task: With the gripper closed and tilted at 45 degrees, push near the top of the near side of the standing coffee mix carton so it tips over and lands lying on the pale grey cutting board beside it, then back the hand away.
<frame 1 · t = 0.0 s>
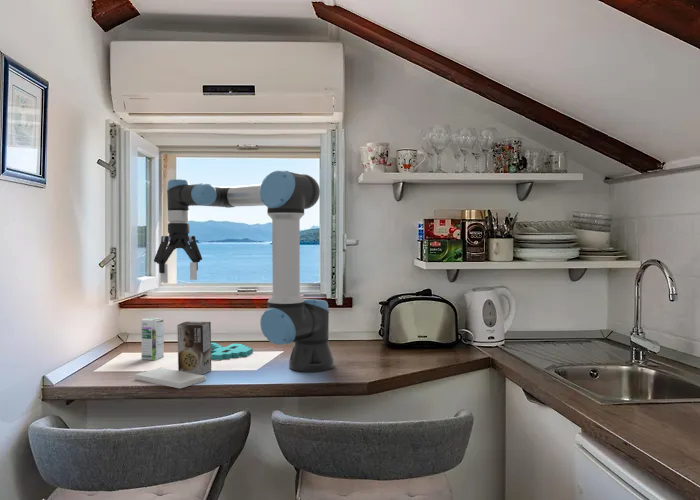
hand: (179, 281, 196), 28 cm above the worktop, fingers open, 13 cm apart
coffee box: (194, 372, 177), on the worktop
alien figure: (224, 355, 204), on the worktop
board: (170, 379, 167), on the worktop
syrup box: (152, 358, 196), on the worktop
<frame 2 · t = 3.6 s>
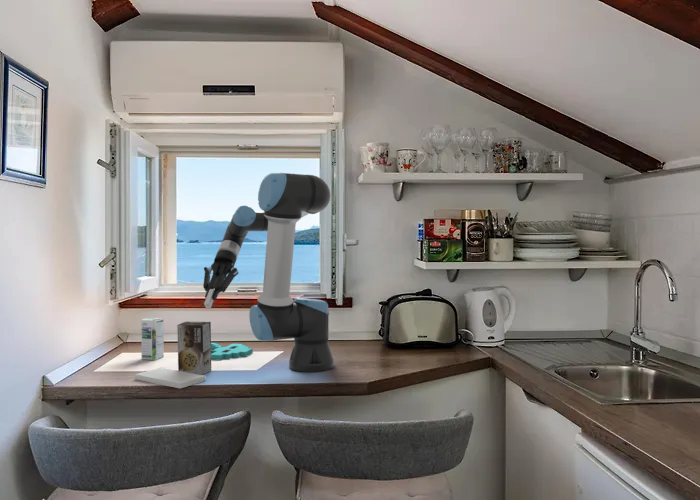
hand: (207, 306, 185), 20 cm above the worktop, fingers closed
nothing on the worktop moved.
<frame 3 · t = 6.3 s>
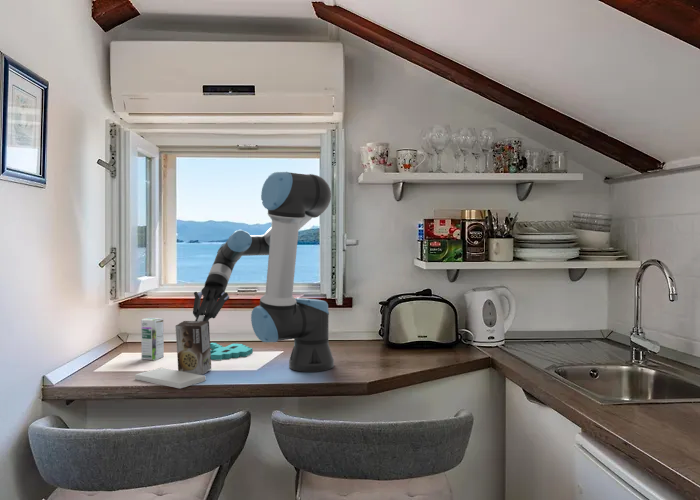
hand: (196, 333, 179), 12 cm above the worktop, fingers closed
coffee box: (194, 371, 177), on the worktop, touching gripper
everything else where it was.
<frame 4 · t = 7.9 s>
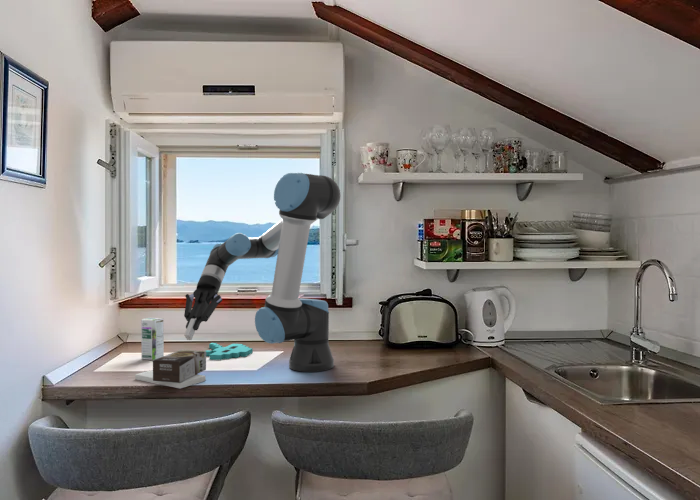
hand: (187, 337, 172), 12 cm above the worktop, fingers closed
coffee box: (193, 359, 174), point 5 cm above the worktop, touching board
everything else where it was.
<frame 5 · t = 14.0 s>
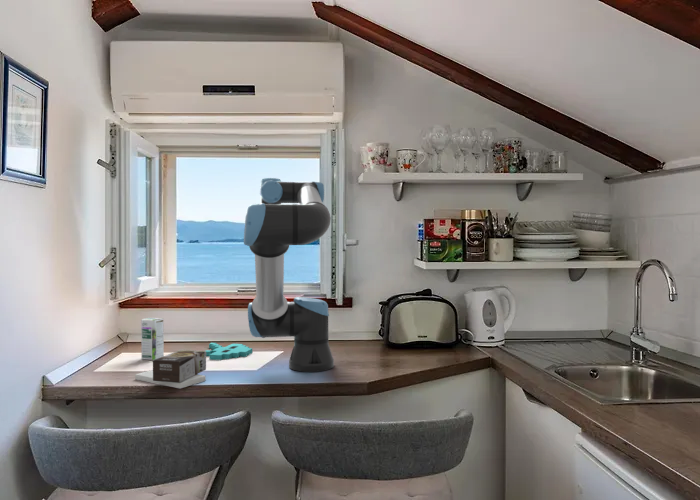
hand: (271, 284, 199), 26 cm above the worktop, fingers closed
nothing on the worktop moved.
at the end: coffee box tilted 90°; coffee box inside the target area (5.6 cm from its centre), point 4.7 cm above the worktop; coffee box touching board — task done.
